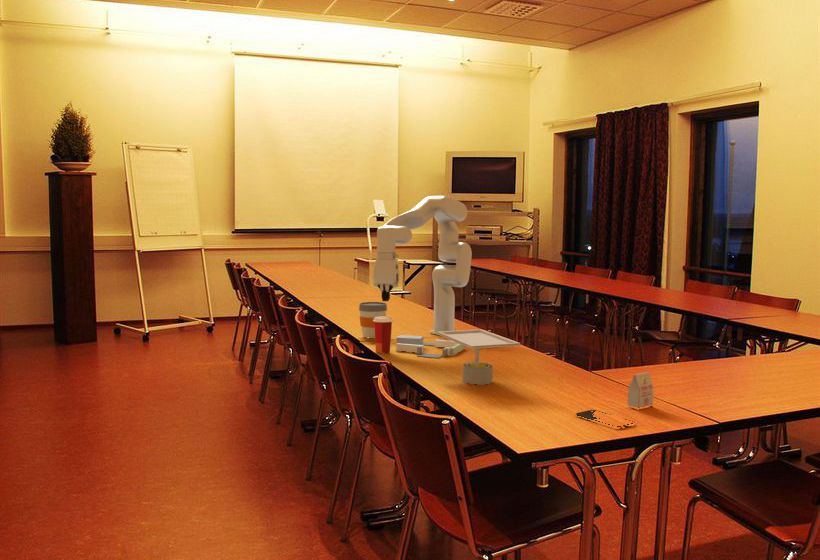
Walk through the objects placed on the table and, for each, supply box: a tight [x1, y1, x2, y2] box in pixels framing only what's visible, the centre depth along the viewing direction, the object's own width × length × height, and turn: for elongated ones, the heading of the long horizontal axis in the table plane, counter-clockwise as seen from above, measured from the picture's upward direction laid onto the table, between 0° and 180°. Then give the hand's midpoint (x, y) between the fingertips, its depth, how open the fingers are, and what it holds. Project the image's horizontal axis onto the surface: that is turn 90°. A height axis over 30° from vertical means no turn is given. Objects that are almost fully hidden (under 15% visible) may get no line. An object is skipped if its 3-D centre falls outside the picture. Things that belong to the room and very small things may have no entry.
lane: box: [395, 338, 466, 359], centre depth 290 cm, size 29×24×3 cm
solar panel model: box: [437, 328, 521, 386], centre depth 237 cm, size 28×17×15 cm, turn 20°
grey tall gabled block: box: [627, 371, 654, 408], centre depth 208 cm, size 4×7×10 cm, turn 126°
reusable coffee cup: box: [358, 301, 388, 339], centre depth 319 cm, size 13×13×15 cm
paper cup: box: [373, 315, 393, 354], centre depth 284 cm, size 8×8×14 cm
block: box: [396, 334, 424, 346], centre depth 293 cm, size 6×10×5 cm, turn 78°
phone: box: [575, 409, 636, 427], centre depth 195 cm, size 8×1×15 cm
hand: (385, 300), depth 296 cm, fingers closed
